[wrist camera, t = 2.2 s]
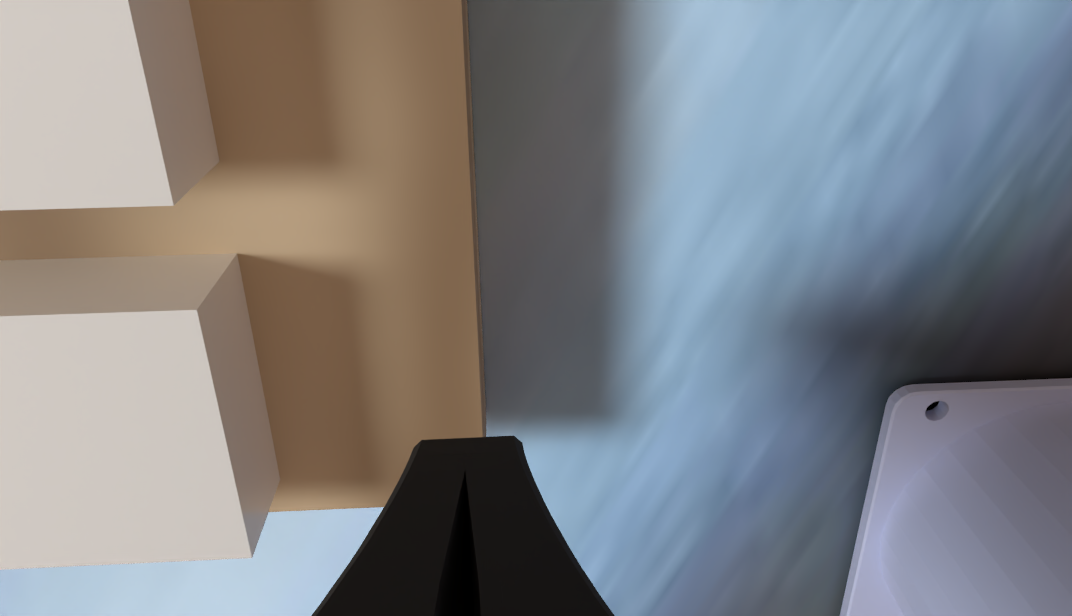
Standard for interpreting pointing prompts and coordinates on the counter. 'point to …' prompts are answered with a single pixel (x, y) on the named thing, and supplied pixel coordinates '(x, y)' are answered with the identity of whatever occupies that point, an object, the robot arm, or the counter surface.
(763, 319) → the counter surface
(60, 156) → the tile
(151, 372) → the tile
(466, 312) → the board
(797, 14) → the counter surface
